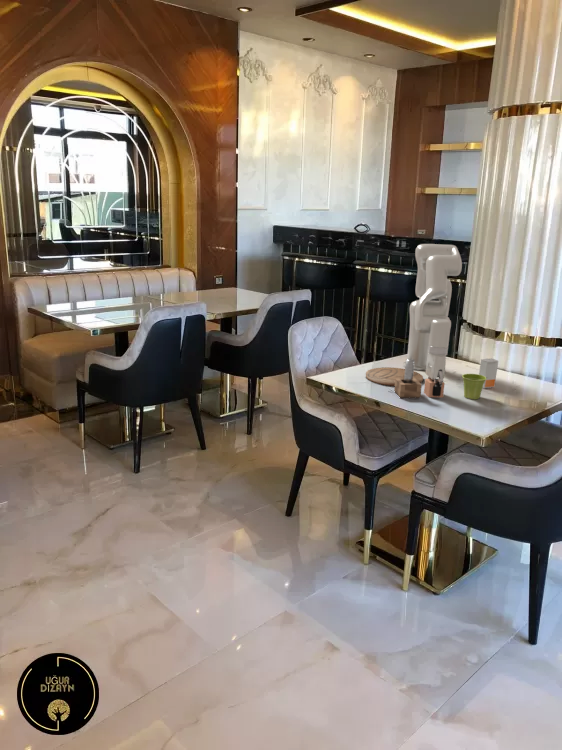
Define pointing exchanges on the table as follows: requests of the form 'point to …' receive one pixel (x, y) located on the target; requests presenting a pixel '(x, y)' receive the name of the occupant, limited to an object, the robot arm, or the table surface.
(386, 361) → the table surface
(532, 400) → the table surface
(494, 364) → the skincare box
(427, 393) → the pink cube with hole
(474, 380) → the plant pot
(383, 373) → the trivet
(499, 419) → the table surface
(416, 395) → the wooden box
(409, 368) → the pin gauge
